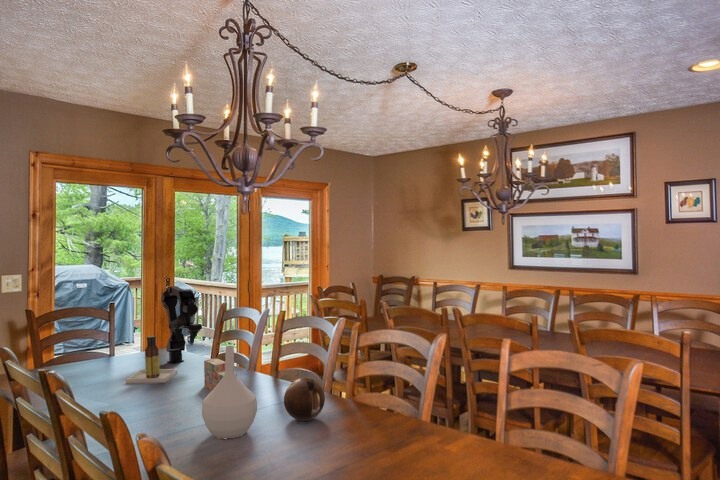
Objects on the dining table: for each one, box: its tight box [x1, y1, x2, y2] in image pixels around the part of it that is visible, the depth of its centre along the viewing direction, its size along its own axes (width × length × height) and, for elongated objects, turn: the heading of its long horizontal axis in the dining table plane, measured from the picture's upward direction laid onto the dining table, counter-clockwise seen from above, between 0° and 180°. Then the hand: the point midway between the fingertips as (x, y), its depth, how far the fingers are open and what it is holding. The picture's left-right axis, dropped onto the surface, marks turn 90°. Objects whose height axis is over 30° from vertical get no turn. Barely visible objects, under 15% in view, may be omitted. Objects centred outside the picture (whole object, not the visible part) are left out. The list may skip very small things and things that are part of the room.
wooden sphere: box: [283, 377, 326, 422], centre depth 182 cm, size 15×15×15 cm
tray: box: [125, 368, 178, 385], centre depth 240 cm, size 18×18×2 cm
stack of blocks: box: [203, 358, 238, 392], centre depth 220 cm, size 21×6×12 cm, turn 39°
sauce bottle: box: [144, 335, 161, 378], centre depth 241 cm, size 7×6×20 cm
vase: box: [201, 345, 258, 440], centre depth 169 cm, size 18×18×30 cm
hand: (185, 342), depth 263 cm, fingers open, 9 cm apart
